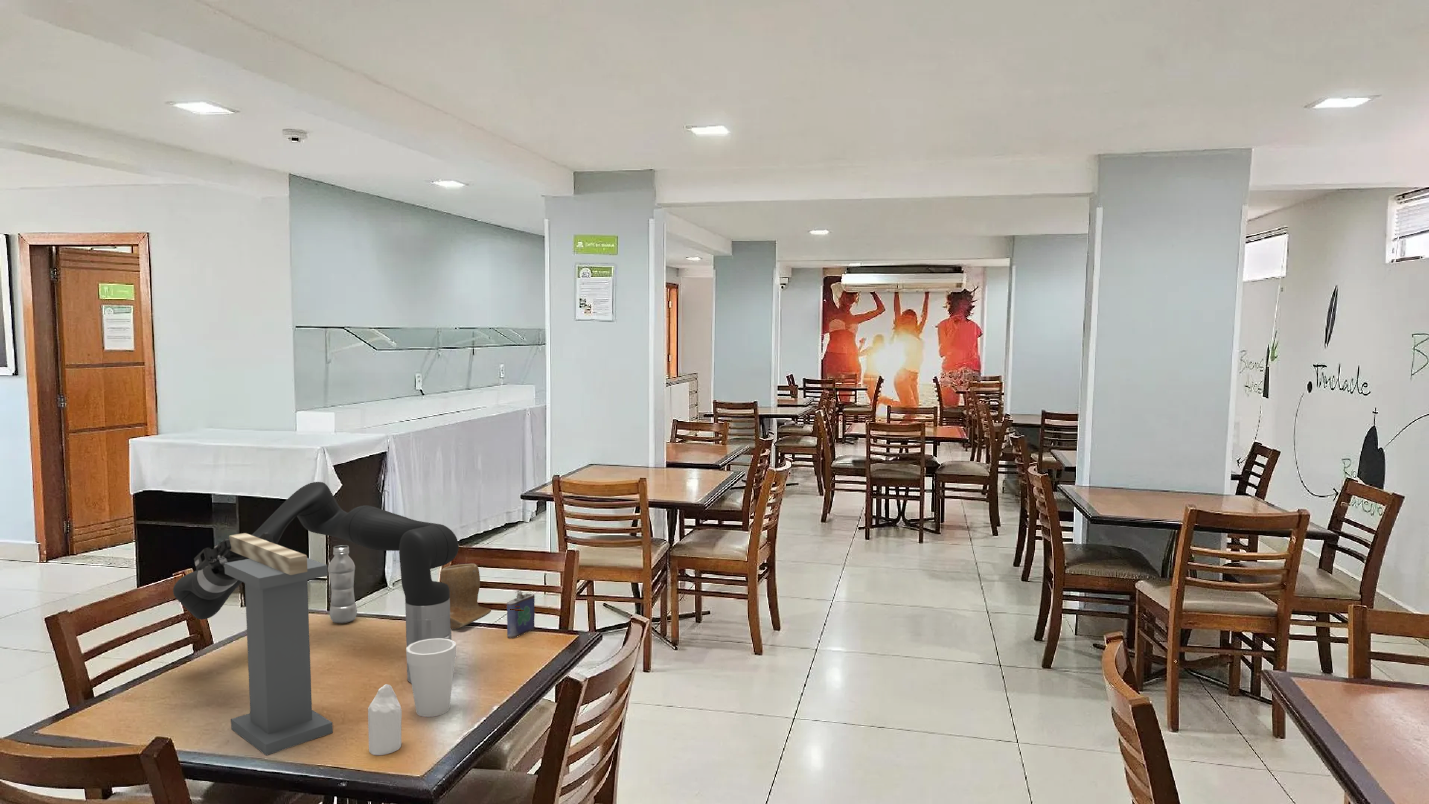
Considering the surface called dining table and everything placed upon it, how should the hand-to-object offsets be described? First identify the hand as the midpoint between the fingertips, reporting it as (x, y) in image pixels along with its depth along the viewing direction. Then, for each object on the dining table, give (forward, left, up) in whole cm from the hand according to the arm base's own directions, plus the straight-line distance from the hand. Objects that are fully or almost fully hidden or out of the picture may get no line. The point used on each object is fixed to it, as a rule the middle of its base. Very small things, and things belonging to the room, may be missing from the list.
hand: (248, 540), depth 170 cm
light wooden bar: (-5, +7, -3) cm, 9 cm away
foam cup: (-34, +7, -35) cm, 49 cm away
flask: (-52, -36, -35) cm, 72 cm away
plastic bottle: (-7, -56, -35) cm, 66 cm away
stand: (-7, +10, -35) cm, 37 cm away
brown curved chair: (-37, -49, -35) cm, 71 cm away
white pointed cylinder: (-27, +22, -35) cm, 49 cm away
